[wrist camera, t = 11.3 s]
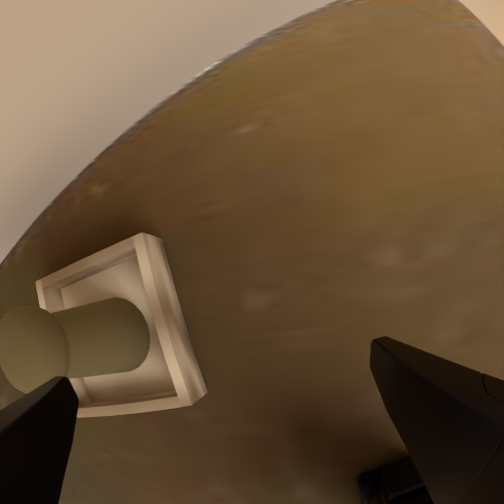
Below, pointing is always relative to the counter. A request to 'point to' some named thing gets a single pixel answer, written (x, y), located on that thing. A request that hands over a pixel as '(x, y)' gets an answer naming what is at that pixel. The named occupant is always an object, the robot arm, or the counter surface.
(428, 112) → the counter surface
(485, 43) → the counter surface
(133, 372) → the birch tray
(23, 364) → the olive pepper mill
